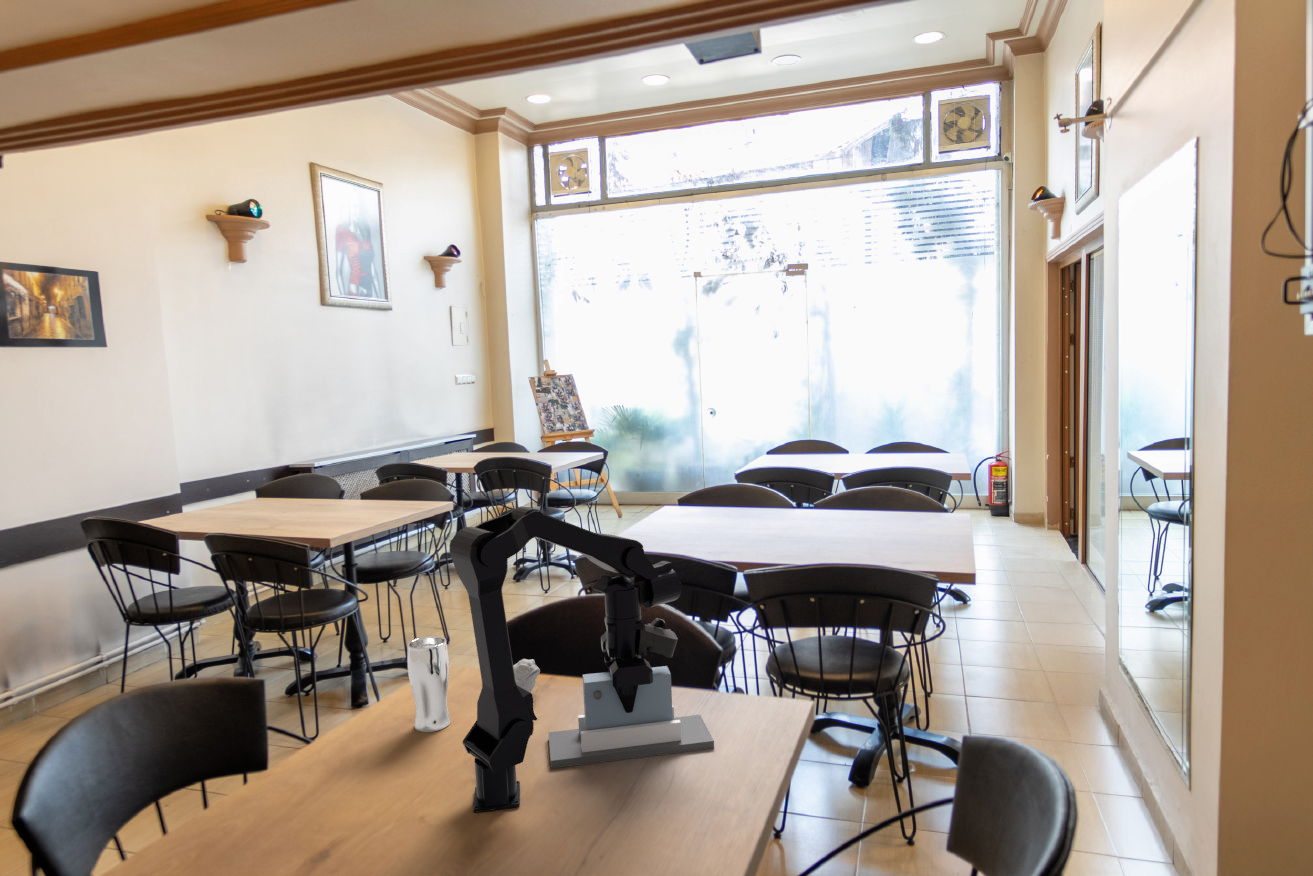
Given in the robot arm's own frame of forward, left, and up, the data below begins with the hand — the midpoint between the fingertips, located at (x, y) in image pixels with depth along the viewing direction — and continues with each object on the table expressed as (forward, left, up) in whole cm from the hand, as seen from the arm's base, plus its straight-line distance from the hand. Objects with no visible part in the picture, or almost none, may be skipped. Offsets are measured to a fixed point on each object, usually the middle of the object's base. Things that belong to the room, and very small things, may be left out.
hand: (627, 707), depth 131 cm
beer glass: (+16, +33, -6) cm, 37 cm away
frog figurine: (+25, +17, -6) cm, 31 cm away
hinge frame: (0, 0, -6) cm, 6 cm away
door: (0, 0, -4) cm, 4 cm away
